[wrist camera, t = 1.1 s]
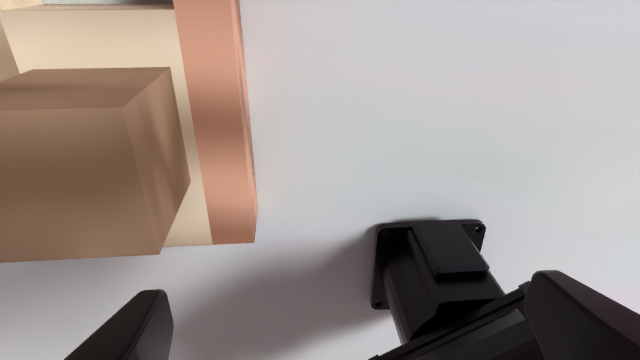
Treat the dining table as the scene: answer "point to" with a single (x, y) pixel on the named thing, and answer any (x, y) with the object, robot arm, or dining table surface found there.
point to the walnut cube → (89, 163)
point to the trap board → (189, 85)
